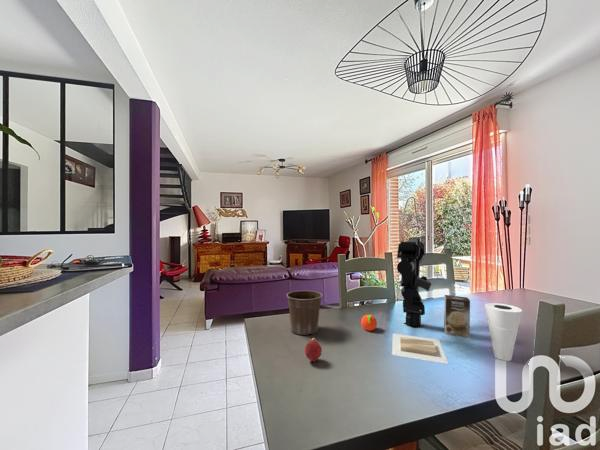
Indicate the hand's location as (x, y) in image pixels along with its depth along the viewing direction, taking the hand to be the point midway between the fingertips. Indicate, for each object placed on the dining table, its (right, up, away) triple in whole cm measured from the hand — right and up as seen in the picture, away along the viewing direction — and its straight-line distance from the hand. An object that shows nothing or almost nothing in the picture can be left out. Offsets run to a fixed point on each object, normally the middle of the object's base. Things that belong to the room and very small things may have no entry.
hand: (408, 307), depth 111 cm
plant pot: (-44, -13, +8) cm, 47 cm away
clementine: (-15, -13, +7) cm, 21 cm away
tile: (0, -11, -7) cm, 13 cm away
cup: (+27, -13, -17) cm, 34 cm away
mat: (-1, -13, -10) cm, 16 cm away
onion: (-42, -13, -20) cm, 48 cm away
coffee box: (+22, -13, +3) cm, 25 cm away
